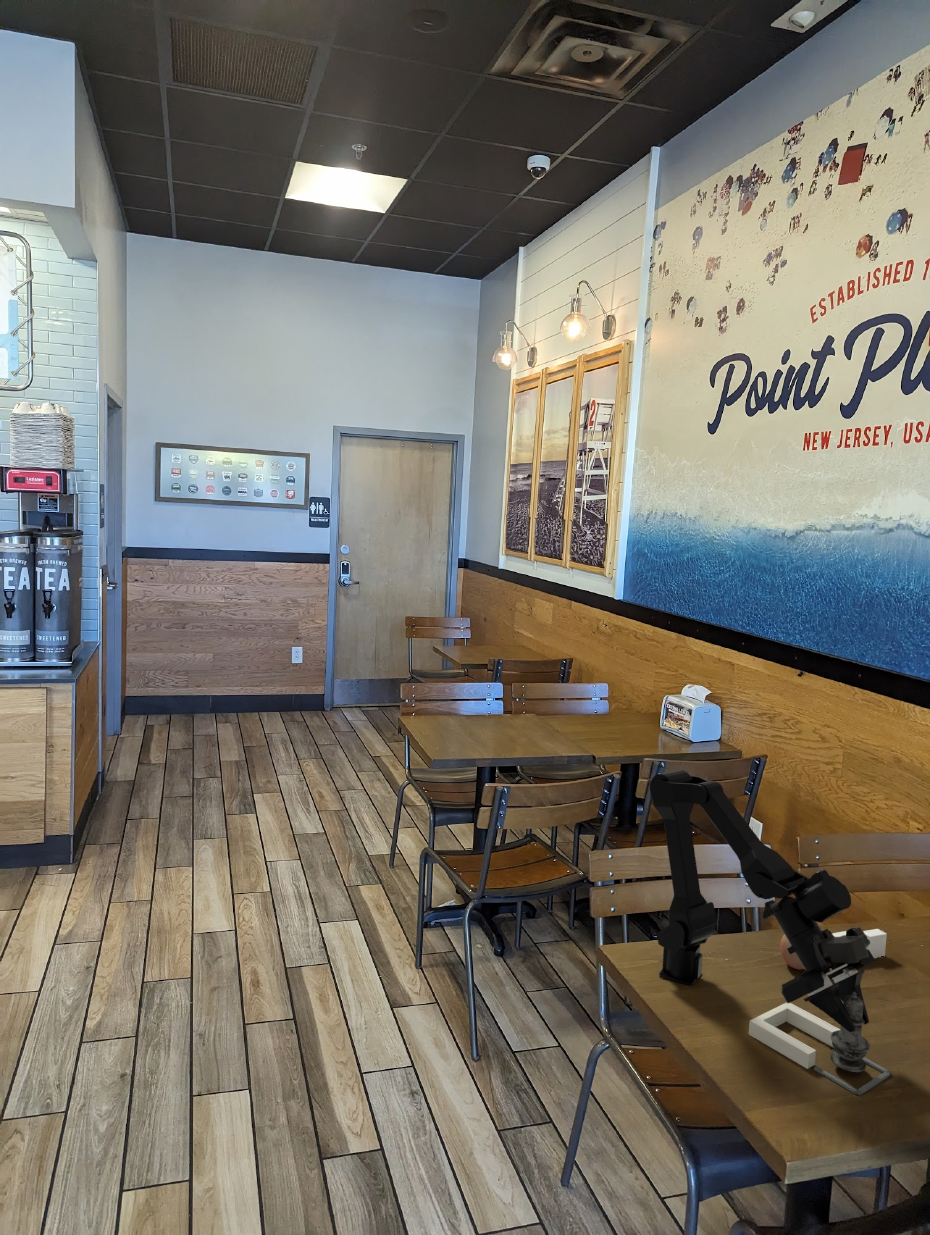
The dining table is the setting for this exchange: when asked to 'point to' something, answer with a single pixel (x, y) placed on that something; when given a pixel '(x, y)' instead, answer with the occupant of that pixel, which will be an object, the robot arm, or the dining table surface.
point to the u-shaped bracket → (785, 1043)
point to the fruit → (789, 958)
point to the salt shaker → (850, 1039)
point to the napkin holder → (872, 941)
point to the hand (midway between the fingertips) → (859, 1027)
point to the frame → (864, 1088)
